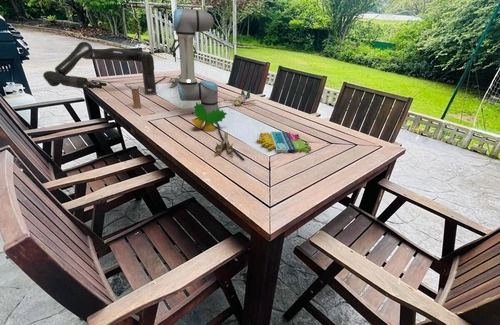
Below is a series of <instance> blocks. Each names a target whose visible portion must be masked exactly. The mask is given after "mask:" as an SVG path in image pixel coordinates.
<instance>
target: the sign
mask: <svg viewBox="0 0 500 325" xmlns="http://www.w3.org/2000/svg"><path fill="white" fill-rule="evenodd" d="M299 136H300V135H299V134H298V133H296V134H294V133H291V132H287V131H270V132H264V133H263V132H260V133H259V139H258V138H257V139H256V143H257V144H261V148H263V147H264V148H265V149H267V151H268V152H271V151H272V150H273V149H275V152H276V153H283V154H285V153H287V154H288V153H290V154H293V153H296V152H298V153H301V152H305V153H310V151H311V150H312V149H311V148H312V146H309V142H304V141H303V139H302V138H299Z"/></svg>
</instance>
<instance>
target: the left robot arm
mask: <svg viewBox="0 0 500 325" xmlns="http://www.w3.org/2000/svg"><path fill="white" fill-rule="evenodd" d="M81 59H85V60H102V61H103V60H104V61H114V62H139V63H141V73H142V80H143V88H144V89H143V90H144V94H145V95H146V96H155V95H157V86H156V84H158V83H160V82H161V81H163V80H165V79H166V77H167V76H164V77H163V78H161V79H159V80H158V81H156V77H155V62H154V56H153V55H152V54H151V53H150V52H148V51H135V50H129V49H124V48H117V47H108V48H103V49H95V48H93V46H92V45H91V43H90V42H87V41H81V42H79V43H77V45H76V46H75V48H74V49H73V50H72V51H71V53H70V54H69V55H67V57H65V58H64V59H63V60H62V61H61V62H60V63H59V64H58V65H56V66H55V67H54V71H53V70H46V71H45V72H43V74H42V77H43V78H44V80H45V82H46V83H48V85H49V86H51V87H58V86H59V85H62V86H64V87H71V88H75V89H82V90H83V89H84V90H86V89H91V90H94V89H98V90H99V89H101V90H102V89H103V87H107V86H108V85H107V84H108V83H106V82H102V81H101V80H93V79H92V80H88V78H87V77H83V76H76V75H75V76H74V75H68V74H69V73H70V72H72V70H73V69H75V67H76V66H77V64H78V62H79V61H80V60H81Z"/></svg>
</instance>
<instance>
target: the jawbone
mask: <svg viewBox="0 0 500 325" xmlns="http://www.w3.org/2000/svg"><path fill="white" fill-rule="evenodd" d="M223 135H224V136H223V139H224V141H223V140H222V139H221V142H220V144H218V142H215V144H216V146H215V148H214V149H215V152H214V154H215V155H217V156H218V155H220V153H221V152H223V151H224V150H226V152H227V153H228V155H229V156H233V155H234V154H233V153H234V151H233V149H234V148H233V144H234V143H230V140H228V139H229V138H228V137H229V136H228V135H229V133H228V131H226V132H224V134H223Z"/></svg>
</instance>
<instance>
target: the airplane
mask: <svg viewBox="0 0 500 325" xmlns="http://www.w3.org/2000/svg"><path fill="white" fill-rule="evenodd" d="M178 77H179V78H178ZM178 77H169V76H166V77H165V79H169V82H171V81H173V82H172V83H171V84H170V86H169V88H174V87H176V86H177V83H179V80H180V79H181V75H178Z"/></svg>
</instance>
